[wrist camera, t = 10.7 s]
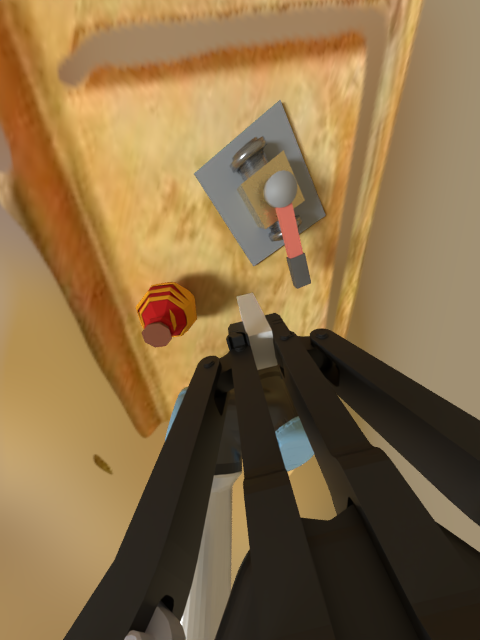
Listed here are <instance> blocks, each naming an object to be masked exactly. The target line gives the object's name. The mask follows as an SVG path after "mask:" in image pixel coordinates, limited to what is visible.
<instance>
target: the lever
mask: <svg viewBox="0 0 480 640" xmlns="http://www.w3.org/2000/svg"><path fill="white" fill-rule="evenodd" d="M263 193H264V198H265V201H266V202H267V204H268V205H269V206H271V207H273V208H275V209H276V213H277V217H278V221H279V224H280V228H281V232H282V236H283V240H284V244H285V248H286V252H287V256H288V257H287V262H288V266H289V270H290V274H291V277H292V281H293V285H294V286H295V287H296V288H297V289H298V288H300V287H303V286H305V285H308V284H310V283H311V280H310V275H309V271H308V266H307V261H306V256H305V253H303V251H302V246H301V242H300V237H299V233H298V228H297V223H296V219H295V214H294V210H293V205H292V201H293V200H294V198H295V196H296V193H297V181H296V179H295V177H294V175H293V174H292V173H290V172H288V171H285V170H282V171H278V172H276V173H275V174H273V175H272V176H271V177H269V178H268V180H267V181H266V183H265V186H264V191H263Z"/></svg>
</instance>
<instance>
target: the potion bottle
mask: <svg viewBox="0 0 480 640" xmlns="http://www.w3.org/2000/svg"><path fill="white" fill-rule="evenodd" d="M165 284H166V285H165ZM156 285H158V286H156ZM136 310H137V313H138V316H139V319H140V322H141V326H142V327H143V328H144V330H143V332H142V335H143V338H144V341H145V342H146V343H148V344H150V345H151V346H153V347H162V346H166V345H167V344H168V343H169V342H170V340H171V339H172V337H177V336H182V335H184V333H185V332H187V331H188V330H189V328H190V327H191V326H192V325H193V323H194V322H195V321H196V320H197V315H196V306H195V297H194V296H193V295H192V294H191V292H190V291H188V290H187V289H185V288H184V287H182V286H180V285H179V284H177V283H175V282H167V283H161V284H155V285H152V286H151V287H150V289H149V290H148V291H147V293H146V294H145V295H144V297H143V298H142V299H141V301H140V302H139V303H138V305H137V306H136Z"/></svg>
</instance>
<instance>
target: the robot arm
mask: <svg viewBox="0 0 480 640" xmlns="http://www.w3.org/2000/svg"><path fill="white" fill-rule="evenodd" d="M237 301H238V306H239V310H240V314H241V318H242V322H238V323H234V324H230V326H229V328H228V332H229V335H228V336H227V338H226V340H227V344H228V347H229V350H230V351H229V352H228V354H226V355H225V356H223V357H222V358H220V359H219V358H218V357H216V356H208V357H205V358H203V359H202V360H201V361H200V362H199V363H198V365H197V368H196V370H195V372H194V375H193V377H192V379H191V382H190V384H189V386H188V387H186V388H184V389H183V390H182V391H181V392H180V394H179V395H178V398H177V400H176V403H175V406H174V409H173V412H172V416H171V419H170V422H169V426H168V430H167V434H166V438H165V443H164V445H163V448H162V450H161V452H160V454H159V457H158V459H157V462H156V464H155V466H154V469H153V471H152V474H151V476H150V478H149V480H148V483H147V485H146V487H145V490H144V492H143V494H142V497H141V499H140V501H139V504H138V506H137V509H136V511H135V513H134V515H133V518H132V520H131V523H130V525H129V527H128V530H127V532H126V534H125V537H124V539H123V541H122V544H121V546H120V548H119V551H118V553H117V555H116V558H115V560H114V562H113V563H112V565H111V566H110V568H109V569H108V571H107V572H106V574H105V576H104V577H103V579H102V580H101V582H100V583H99V585H98V587H97V588H96V590H95V591H94V593H93V594H92V596H91V597H90V599H89V600H88V602H87V603H86V605H85V607H84V608H83V610H82V611H81V613H80V614H79V616H78V617H77V619H76V620H75V622H74V624H73V625H72V627H71V628H70V630H69V631H68V633H67V634H66V636H65V638H64V639H63V640H480V552H478V551H477V550H476V549H474V548H473V547H471V546H470V545H468V544H467V543H466V542H464V541H463V540H461V539H460V538H458V537H457V536H456V535H454V534H453V533H451V532H450V531H448V530H447V529H446V528H444V527H443V526H441V525H440V524H438V523H437V522H435V521H434V519H433V518H432V517H431V515H430V514H429V512H428V511H427V510H426V508H425V507H424V506H423V504H422V503H421V501H420V500H419V498H418V497H417V496H416V494H415V493H414V492H413V490H412V489H411V487H410V486H409V485H408V483H407V482H406V481H405V479H404V478H403V476H402V475H401V473H400V472H399V471H398V469H397V468H396V466H395V465H394V464H393V462H392V461H391V460H390V458H389V457H388V456H387V455H386V453H385V452H384V451H383V450H381V449H380V448H378V447H374V446H372V445H371V444H370V443H369V441H368V440H367V438H366V437H365V435H364V434H363V432H362V431H361V430H360V428H359V427H358V425H357V424H356V422H355V421H354V419H353V418H352V416H351V415H350V413H349V412H348V410H347V409H346V407H345V406H344V405H343V403H342V402H341V400H340V399H339V397H340V398H342V399H343V400H344V401H345V402H346V403H347V404H348V405H349V406H350V407H351V408H352V409H353V410H354V411H355V412H356V413H358V414H359V415H360V416H361V417H362V418H363V419H364V420H365V421H366V422H367V423H368V424H369V425H370V426H371V427H372V428H373V429H375V431H377V432H378V433H379V434H380V435H381V436H382V437H383V438H384V439H385V440H386V441H387V442H388V443H389V444H390V445H391V446H392V447H393V448H395V449H396V450H397V451H398V452H399V453H400V454H401V455H402V456H403V457H404V458H405V459H406V460H407V461H408V462H409V463H410V464H412V465H413V466H414V467H415V468H416V469H417V470H418V471H419V472H420V473H421V474H422V475H423V476H424V477H425V478H427V480H429V481H430V482H431V483H432V484H433V485H434V486H435V487H436V488H437V489H438V490H439V491H440V492H441V493H442V494H443V495H445V496H446V497H447V498H448V499H449V500H450V501H451V502H452V503H453V504H454V505H456V506H457V507H458V508H459V509H460V510H461V511H462V512H463V513H464V514H466V515H467V516H468V517H469V518H470V519H472V520H473V521H474V522H475V523H477V524H478V525H479V526H480V420H478V419H477V418H475V417H473V416H472V415H470V414H468V413H467V412H465V411H463V410H462V409H460V408H458V407H457V406H455V405H453V404H452V403H450V402H448V401H447V400H445V399H443V398H442V397H440V396H438V395H437V394H435V393H433V392H432V391H430V390H428V389H427V388H425V387H424V386H422V385H420V384H419V383H417V382H415V381H413V380H412V379H410V378H408V377H407V376H405V375H404V374H402V373H400V372H399V371H397V370H395V369H394V368H392V367H390V366H388V365H387V364H385V363H384V362H382V361H380V360H379V359H377V358H375V357H374V356H372V355H370V354H369V353H367V352H365V351H364V350H362V349H360V348H359V347H357V346H356V345H354V344H352V343H350V342H349V341H347V340H346V339H344V338H342V337H341V336H339V335H337V334H336V333H334V332H332V331H330V330H328V329H316V330H313V331H312V332H311V333H310V336H305V337H301V336H297V335H296V334H295V333H294V332H292V331H289V329H288V328H287V326H286V324H285V323H284V321H283V320H282V318H281V317H280V315H278V314H276V313H273V314H269V315H265V316H264V314H263V312H262V310H261V308H260V306H259V304H258V302H257V300H256V298H255V296H254V294H253V293H249V294H245V295H241V296H237ZM337 395H338V396H339V397H338V396H337ZM314 454H315V457H316V459H317V461H318V464H319V466H320V469H321V471H322V473H323V476H324V478H325V480H326V483H327V485H328V488H329V490H330V493H331V496H332V500H333V504H334V507H335V510H336V513H337V516H336V517H334V518H333V519H331V520H328V521H327V520H317V519H308V518H300V515H299V511H298V507H297V504H296V500H295V497H294V494H293V490H292V487H291V483H290V480H289V476H288V473H287V471H290V470H293V469H295V468H297V467H299V466H301V465H302V464H304V463H305V462H307V461H308V460H309V459H310V458H311V457H312V456H313V455H314ZM242 459H243V467H244V481H243V489H244V500H245V509H246V517H247V527H248V536H249V545H250V550H249V551H248V553H247V554H246V556H245V558H244V560H243V562H242V564H241V566H240V568H239V570H238V573H237V575H236V578H235V581H234V584H233V587H232V590H231V543H232V486H233V484H234V482H235V481H236V480H237V478H238V477H239V476H240V475H241V473H242Z"/></svg>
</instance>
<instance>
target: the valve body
mask: <svg viewBox="0 0 480 640" xmlns="http://www.w3.org/2000/svg"><path fill="white" fill-rule="evenodd" d="M266 145H267V143H266V140H265V138H264V136H262V137H260V138H259V139H258V138H257V137H255V138H253V139H252V140H250V141H249V142H248V143H246V144H245V145H244V146H243V147H242V148H241V149H240V150H239V151H238V152H237V153H236V154H235V155H234V156H233V158H232V160H233V162H232V163H231V164H230V168H231V170H232V172H233V173H235V172H236V171H239V173H240V175H241V177H242V178H243V180H244V182H243V183H242V184H241V185H240V186H239V187H238V188H237V191H238V193H239V194H240V196H241V198H242V200H243V201H244V203H245V205H246V207H247V208H248V210H249V212H250V214H251V215H252V217H253V219H254V221H255V222H256V224H257V226H258V227H259V228H263V229H267V228H268V227H269V228H270V230H271V232H270V233H269V235H268V236H269V238H270V240H271V241H281V240H283V236H282V232H281V228H280V224H279V221H278V217H277V213H276V209H275V208H273V207H271V206H269V205H268V204H267V202H266V201H265V198H264V193H263V191H264V186H265V183H266V181H267V180H268V178H269V177H271V176H272V175H273V174H275V173H276V172H278V171H282V170H285V171H288V172H290V173H292V174H293V175H294V173H293V171H292V169H291V166H290V164H289V162H288V159H287V157H286V155H285V152H284V150H283V151H282V152H281V153H279V154H278V155H277V156H276V157H274V158H273V159H272V160H271V161H268V159H267V157H266V155H265V153H264V151H263V149H264V148H265V146H266ZM294 177H295V176H294ZM295 179H296V178H295ZM296 181H297V180H296ZM303 201H305V199H304V197H303V194H302V192H301V190H300V187H299V185H298V183H297V193H296V196H295V198H294V200H293V201H292V205H293V209H294V208H295V207H297V206H298V205H299V204H301V203H302V202H303ZM295 219H296V223H297V228H299V226H300V225H301V223H302V219H301V217H300V215H296V216H295Z"/></svg>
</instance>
